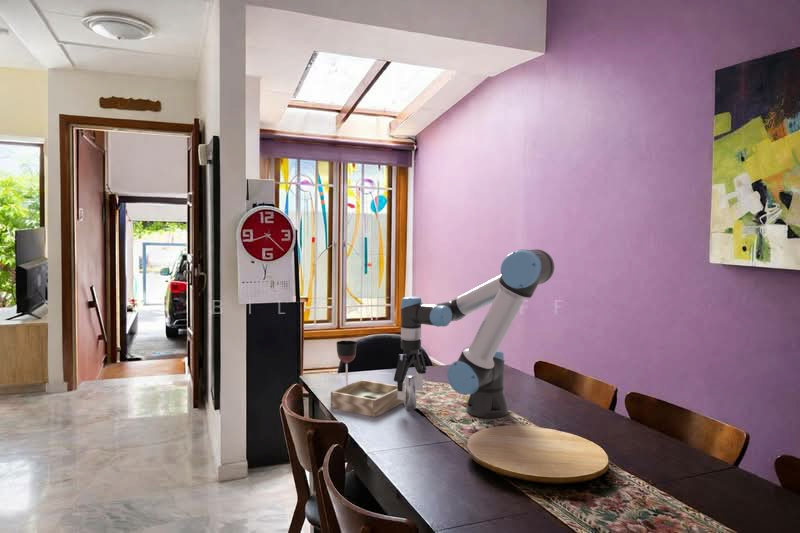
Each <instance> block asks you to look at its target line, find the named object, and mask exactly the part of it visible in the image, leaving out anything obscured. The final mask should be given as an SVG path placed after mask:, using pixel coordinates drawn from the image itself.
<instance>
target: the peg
mask: <svg viewBox="0 0 800 533" xmlns="http://www.w3.org/2000/svg"><path fill="white" fill-rule="evenodd" d="M405 409H406V410H409V411H414V410H416V409H417V390H416V375H413V374H410V375H407V374H406V376H405Z"/></svg>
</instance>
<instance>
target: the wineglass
mask: <svg viewBox="0 0 800 533" xmlns="http://www.w3.org/2000/svg"><path fill="white" fill-rule="evenodd" d="M336 352H337V357H338V358H339V359H338V360H340V361H341V362H343V363H344V364H345V386H347V385H349V384H348V383H349V382H348V378H349V377H348V376H349V375H348V371H349V370H348V369H349V367H348V366H349V363H351V362H352V361H353V360H354V359H355V358H356V354H357V341H355V340H340V341H339V340H338V341H336Z"/></svg>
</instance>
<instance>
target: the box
mask: <svg viewBox="0 0 800 533" xmlns="http://www.w3.org/2000/svg"><path fill="white" fill-rule="evenodd" d="M397 394H398V390H397V385H395V384H390V383H384V382H377V381H372V380H366V379H360V380H358V381H355V382H352V383H349V384H348V385H347V386H346V385H345V386H343V387H340V388H338V389H335V390H332V391H330V408H332V409H334V410H335V409H336V410H340V411H345V412H350V413H355V414H359V415H363V416H369V417H375V418H376V417H378V416H380V415H382V414H384V413H385V412H387V411H389V410H391V409H393V408H395V407H397V406H399V405H401V404H403V403H404V402H405V400H399V399H397Z"/></svg>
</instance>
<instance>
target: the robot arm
mask: <svg viewBox="0 0 800 533" xmlns="http://www.w3.org/2000/svg"><path fill="white" fill-rule="evenodd" d="M554 272H555V262H554V259H553V258H552V256H551V254H549V253H548V252H547V251H545V250H542V249H535V248H534V249H518V250H515V251H512V252H510V253H508V255H506V256H505V257H504V259H503V260H502V262H501V265H500V274H499V275H497V276H496V277H494V278H491V279H490V280H488V281H485V282H484V283H482V284H480V285H478V286H476V287H474V288H473V289H470V290H469V291H466V292H465V293H462V294H461V295H459V296H457V297H454V298H453V299H451V300H449V301H445V302H441V303H440V302H439V303H435V304H433V303H422V298H421V297H419V296H405V297H402V298H401V300H400V301H401V302H400V320H401V324H400V338H401V339H400V348H401V350H403V353H402V354H401V353H398V359H397V365H396V369H395V373H394V375H393V376H394V377H393V381H394V382H395V383H397V385H396V386H397V390H398V394H397V399H399V400H404V401H406V381H405V380H406V376H407V374H408V370H409V368H410V367H411V366H412V364H413V366H414V368H415V371H416V372H415V376H416V391H420V392H423V390H424V374H426V373H427V366H426V362H425V358H424V353H423V348H422V339H421V338H422V325H427V326H435V327H437V328H438V327H443V328H444V327H447V326H449V325H450V323H451V322H456V321H459V320H462V319H463V318H465V317H466V316H467V315H470V314H472V313H473V312H476V311H478V310H481V309H482V308H484V307H486V306H488V305H490V304H491V305H490V306H489V308H488V311H487V313H486V315H485V317H484V319H483V321H482V322H481V324H480V326H479V328H478V330H477V332H476V334H475V336H474V338H473V340H472V342H471V344H470V346H467V347H464V348H463V350H462V351H461V353H460V355H459V357H458V359H457V360H456V361H454V362H452V363H451V364H450V365H449V366H448V369H447V372H446V376H447V380H448V384H449V385H450V387H451V388H452V389H453V391H454V392H456V393H457V394H459V395H463V396H468V398H467V402H466V413H467V414H469V415H471V416H474V417H478V418H483V419H497V418H503V417H505V416H508V414H509V405H508V401H507V398H506V394H505V391H504V390H505V389H504V388H505V386H504V384H505V379H504V377H505V358H504V357H505V354H504V352H503V351H502V350H499V348H500V346H501V344H502V342H503V340H504V338H505V336H507V333H508V331H509V329H510V327H511V325H512V323H513V321H514V320H515V318H516V317H517V315H518V313H519V311H520V309H521V307H522V305H523V304H524V301H525V300H528V299H529V300H530V299H531V298H532V297H533V295H534V293H535V291H536V289H537V288H538V286H539V285H542V284H545V283H546V282H548V281H549V280H550V279H551V278H552V277H553V275H554Z"/></svg>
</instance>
